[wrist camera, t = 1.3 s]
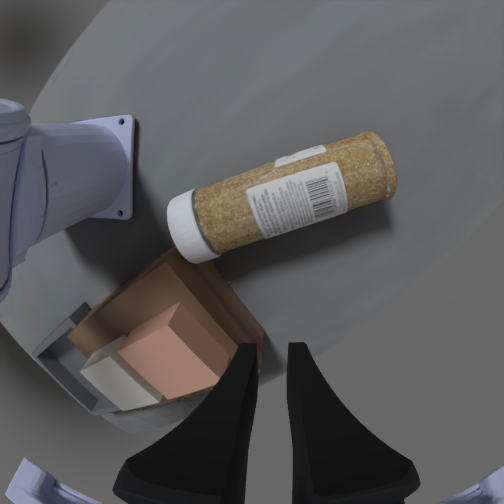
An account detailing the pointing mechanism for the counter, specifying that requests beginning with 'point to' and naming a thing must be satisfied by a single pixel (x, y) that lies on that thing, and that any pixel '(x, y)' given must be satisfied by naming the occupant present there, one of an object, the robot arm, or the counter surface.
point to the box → (71, 365)
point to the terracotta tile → (175, 353)
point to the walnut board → (163, 297)
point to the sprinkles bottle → (281, 196)
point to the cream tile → (119, 378)
